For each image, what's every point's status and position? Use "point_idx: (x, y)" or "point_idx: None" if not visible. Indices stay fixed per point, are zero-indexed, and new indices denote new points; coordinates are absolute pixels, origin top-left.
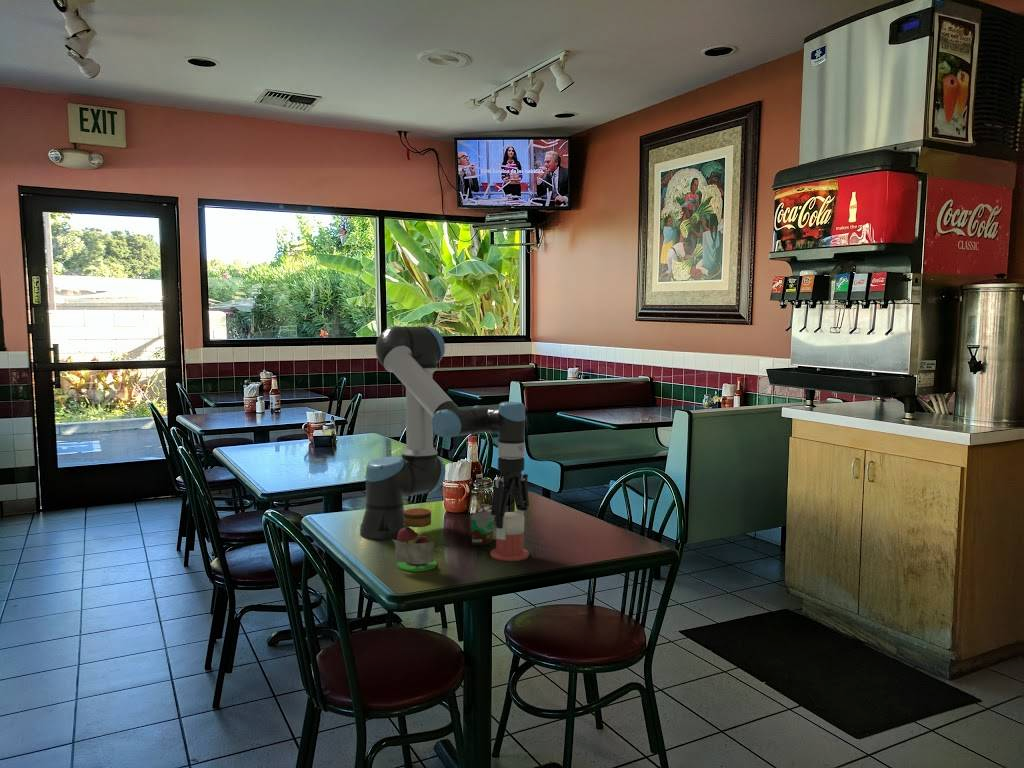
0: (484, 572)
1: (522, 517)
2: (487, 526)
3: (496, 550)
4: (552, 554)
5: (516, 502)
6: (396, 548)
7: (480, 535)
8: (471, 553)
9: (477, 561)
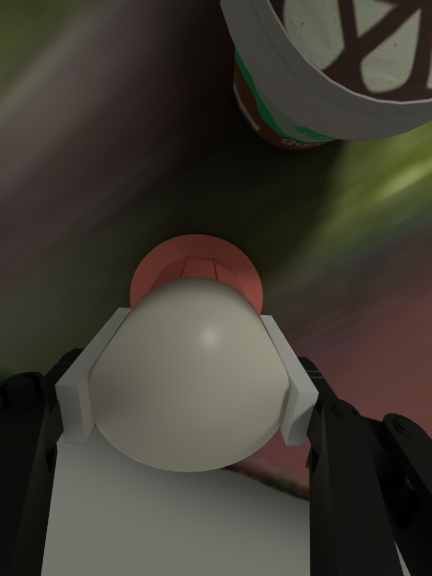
0: (6, 323)
1: (199, 468)
2: (300, 128)
3: (161, 271)
4: None
5: (322, 472)
6: None
7: (256, 115)
8: (129, 168)
9: (71, 245)
